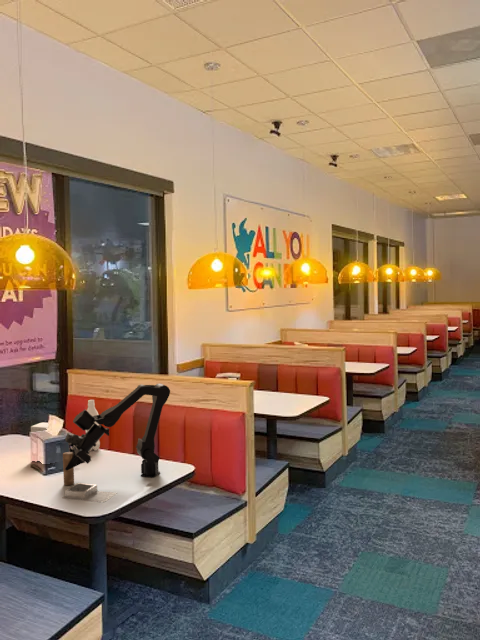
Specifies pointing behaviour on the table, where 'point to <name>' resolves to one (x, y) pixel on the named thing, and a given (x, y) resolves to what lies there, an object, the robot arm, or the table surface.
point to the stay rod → (68, 473)
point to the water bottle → (93, 412)
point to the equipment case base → (96, 496)
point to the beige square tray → (87, 489)
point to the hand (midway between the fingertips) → (64, 468)
